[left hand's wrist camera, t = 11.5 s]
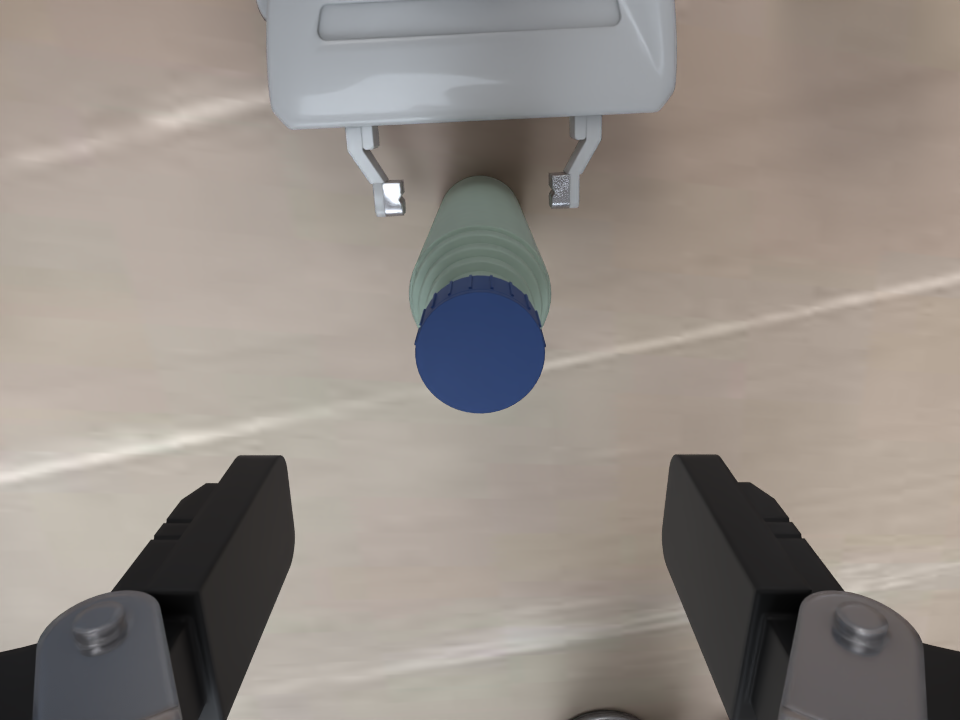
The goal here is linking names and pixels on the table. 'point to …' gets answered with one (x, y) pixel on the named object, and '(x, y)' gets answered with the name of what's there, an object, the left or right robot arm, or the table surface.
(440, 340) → the cap
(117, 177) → the table surface
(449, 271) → the bottle
